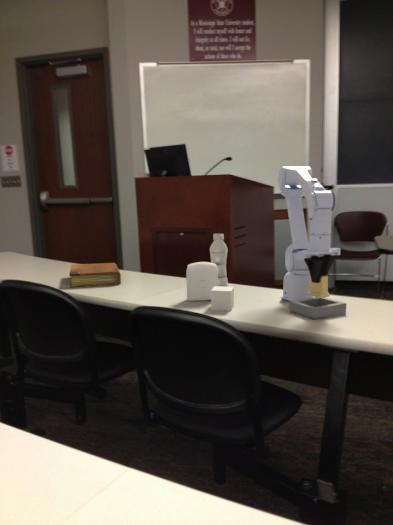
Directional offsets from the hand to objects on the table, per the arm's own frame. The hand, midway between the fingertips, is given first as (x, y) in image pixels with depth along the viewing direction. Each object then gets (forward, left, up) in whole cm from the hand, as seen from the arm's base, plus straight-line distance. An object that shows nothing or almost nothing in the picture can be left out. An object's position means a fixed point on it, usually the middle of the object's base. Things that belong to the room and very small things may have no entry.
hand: (318, 282), depth 125 cm
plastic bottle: (-40, -8, -9) cm, 42 cm away
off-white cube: (-19, -20, -9) cm, 29 cm away
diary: (-82, -40, -10) cm, 92 cm away
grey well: (0, 0, -9) cm, 9 cm away
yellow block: (0, 0, -4) cm, 4 cm away
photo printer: (-31, -20, -9) cm, 38 cm away
